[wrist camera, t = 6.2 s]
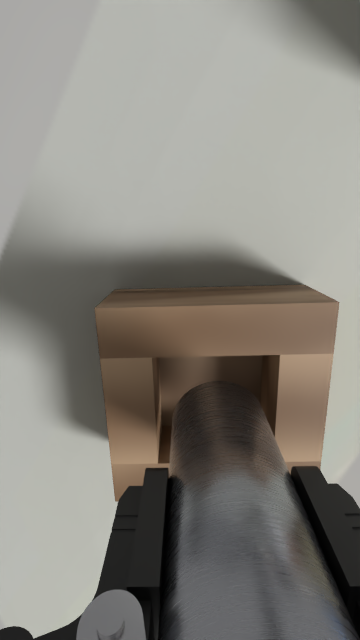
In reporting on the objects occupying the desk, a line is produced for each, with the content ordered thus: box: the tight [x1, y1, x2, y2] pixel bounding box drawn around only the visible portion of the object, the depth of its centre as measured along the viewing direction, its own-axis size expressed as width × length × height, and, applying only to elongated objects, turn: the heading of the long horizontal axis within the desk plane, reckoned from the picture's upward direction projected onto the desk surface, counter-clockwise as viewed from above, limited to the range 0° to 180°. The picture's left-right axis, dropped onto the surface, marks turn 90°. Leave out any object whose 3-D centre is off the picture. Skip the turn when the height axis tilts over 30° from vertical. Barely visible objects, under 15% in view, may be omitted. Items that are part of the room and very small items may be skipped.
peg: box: [158, 381, 360, 640], centre depth 8 cm, size 4×4×12 cm
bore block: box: [94, 285, 339, 501], centre depth 16 cm, size 10×10×4 cm
